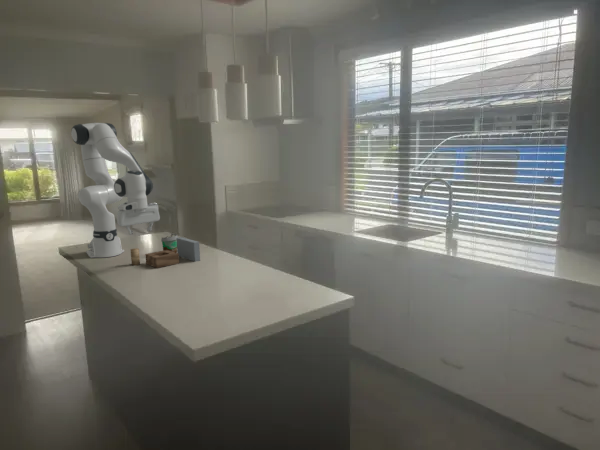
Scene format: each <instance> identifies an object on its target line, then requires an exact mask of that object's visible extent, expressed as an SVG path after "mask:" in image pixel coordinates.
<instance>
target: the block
mask: <svg viewBox="0 0 600 450" xmlns="http://www.w3.org/2000/svg"><path fill="white" fill-rule="evenodd" d="M144 255H145V264H146V265H149V266H151V267H154V268H156V269H158V268H159V269H160V268H164V267H168V266H173V265H177V264H180V256H179V254H178V253H175V252H172V251H169V250H164V251H163V250H160V251H154V252H150V253H145V254H144Z"/></svg>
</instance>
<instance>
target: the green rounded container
mask: <svg viewBox="0 0 600 450" xmlns="http://www.w3.org/2000/svg"><path fill="white" fill-rule="evenodd" d="M177 238H179V235H178V234H177V233H171V235H167V236H165V237H161V243H162V251H164V250H169V251H172V252H175V253H177Z"/></svg>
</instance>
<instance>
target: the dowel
mask: <svg viewBox="0 0 600 450" xmlns="http://www.w3.org/2000/svg"><path fill="white" fill-rule="evenodd" d="M140 257H141V256H140V249H139V248H138V247H135V248H130V261H131V266H133V267H134V266H135V267H136V266H139V265H141V260H140V259H141V258H140Z"/></svg>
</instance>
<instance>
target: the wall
mask: <svg viewBox="0 0 600 450" xmlns="http://www.w3.org/2000/svg"><path fill="white" fill-rule="evenodd" d="M177 253H178V254H179V258H183V259H186V260H189V261H191V262H199V261H201V252H200V241H198V240H194V239H189V238H186V237H183V236H181V237H179V236H178V238H177Z"/></svg>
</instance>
